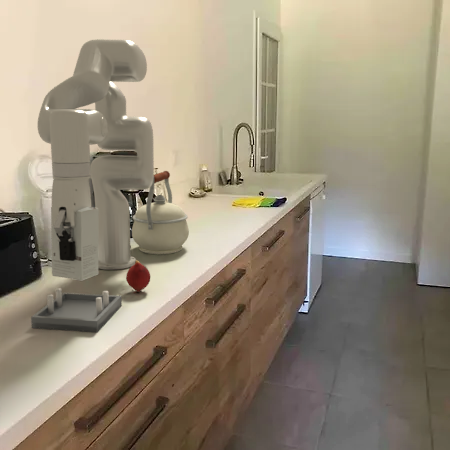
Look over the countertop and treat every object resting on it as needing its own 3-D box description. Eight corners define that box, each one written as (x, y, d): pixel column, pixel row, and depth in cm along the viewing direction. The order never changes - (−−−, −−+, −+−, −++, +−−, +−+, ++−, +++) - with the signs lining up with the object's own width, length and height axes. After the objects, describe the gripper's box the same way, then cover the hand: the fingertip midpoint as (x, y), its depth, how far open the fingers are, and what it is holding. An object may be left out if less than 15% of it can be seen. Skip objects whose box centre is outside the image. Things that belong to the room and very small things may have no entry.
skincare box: (51, 276, 109) (47, 207, 106) (70, 269, 114) (67, 202, 111) (83, 281, 106) (79, 210, 103) (101, 274, 111) (98, 205, 108)
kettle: (178, 259, 157) (177, 177, 151) (121, 255, 160) (118, 175, 155) (198, 240, 181) (198, 169, 175) (148, 237, 184) (147, 167, 179)
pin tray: (63, 302, 120) (62, 281, 119) (121, 305, 119) (120, 284, 117) (31, 328, 106) (30, 304, 105) (97, 332, 104) (96, 308, 103)
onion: (151, 287, 131) (151, 257, 129) (149, 295, 125) (148, 263, 124) (128, 287, 131) (127, 257, 129) (125, 295, 125) (124, 263, 123)
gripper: (72, 167, 114) (75, 245, 118) (33, 175, 98) (39, 265, 101) (104, 167, 113) (107, 246, 117) (71, 175, 97) (75, 267, 100)
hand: (75, 254), depth 109 cm, fingers closed on skincare box, 7 cm apart
